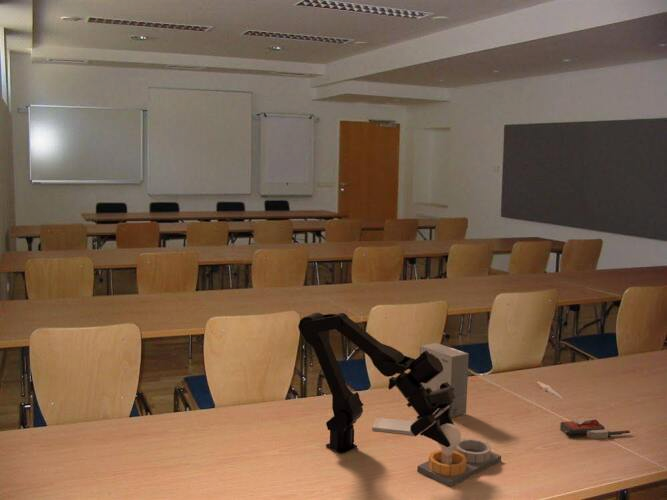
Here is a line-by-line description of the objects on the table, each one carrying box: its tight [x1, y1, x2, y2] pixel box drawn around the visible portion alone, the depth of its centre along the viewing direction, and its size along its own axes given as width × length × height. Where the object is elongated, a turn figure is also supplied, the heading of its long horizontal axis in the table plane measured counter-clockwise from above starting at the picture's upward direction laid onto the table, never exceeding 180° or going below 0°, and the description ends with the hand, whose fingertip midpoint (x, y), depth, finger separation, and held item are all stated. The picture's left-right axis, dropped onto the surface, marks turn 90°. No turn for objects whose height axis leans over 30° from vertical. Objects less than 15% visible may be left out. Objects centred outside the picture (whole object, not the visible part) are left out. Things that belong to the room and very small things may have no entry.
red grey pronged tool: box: [559, 416, 631, 440], centre depth 207 cm, size 9×4×20 cm
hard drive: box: [371, 417, 415, 436], centre depth 208 cm, size 2×8×12 cm
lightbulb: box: [437, 423, 462, 465], centre depth 179 cm, size 6×6×11 cm
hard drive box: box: [419, 342, 470, 418], centre depth 223 cm, size 16×8×20 cm, turn 34°
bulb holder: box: [417, 438, 502, 487], centre depth 183 cm, size 22×11×4 cm, turn 133°
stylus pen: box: [537, 380, 564, 400], centre depth 241 cm, size 15×3×2 cm, turn 18°
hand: (453, 441), depth 178 cm, fingers closed on lightbulb, 6 cm apart
